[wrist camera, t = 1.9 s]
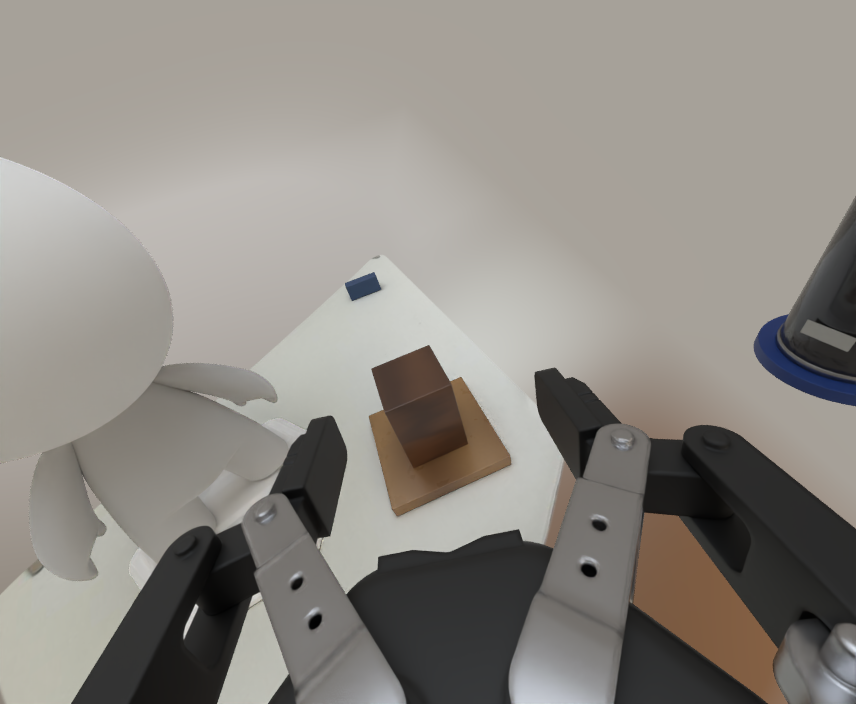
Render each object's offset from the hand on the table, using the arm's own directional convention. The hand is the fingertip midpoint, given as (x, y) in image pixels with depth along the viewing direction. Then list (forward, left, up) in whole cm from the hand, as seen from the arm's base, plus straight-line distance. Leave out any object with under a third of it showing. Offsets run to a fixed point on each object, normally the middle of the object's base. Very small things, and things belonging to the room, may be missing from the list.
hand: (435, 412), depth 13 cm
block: (0, -14, -21) cm, 25 cm away
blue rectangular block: (+1, -52, -21) cm, 56 cm away
